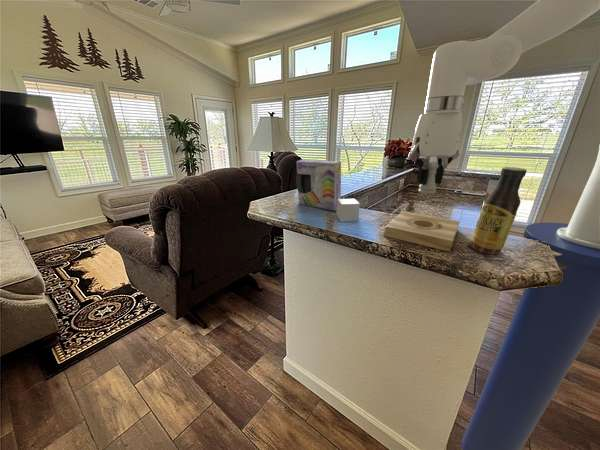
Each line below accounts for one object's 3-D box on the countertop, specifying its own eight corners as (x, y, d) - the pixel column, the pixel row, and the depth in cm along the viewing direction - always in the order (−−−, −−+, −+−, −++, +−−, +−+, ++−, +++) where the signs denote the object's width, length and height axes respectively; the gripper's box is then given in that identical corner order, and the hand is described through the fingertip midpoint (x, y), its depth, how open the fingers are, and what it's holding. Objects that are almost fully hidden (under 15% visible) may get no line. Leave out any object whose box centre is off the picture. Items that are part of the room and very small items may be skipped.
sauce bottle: (463, 246, 60) (485, 166, 52) (481, 242, 61) (504, 165, 54) (490, 258, 54) (519, 171, 46) (509, 253, 56) (539, 169, 48)
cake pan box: (295, 203, 98) (294, 159, 91) (303, 200, 101) (303, 158, 95) (333, 212, 86) (335, 163, 79) (341, 209, 89) (343, 161, 83)
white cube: (340, 221, 77) (341, 204, 75) (336, 215, 83) (337, 199, 81) (358, 220, 78) (359, 203, 76) (353, 214, 83) (354, 198, 81)
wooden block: (400, 219, 78) (402, 210, 77) (457, 230, 69) (459, 220, 68) (384, 236, 66) (385, 226, 65) (449, 251, 57) (452, 240, 56)
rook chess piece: (414, 192, 64) (419, 162, 61) (422, 189, 67) (428, 160, 64) (431, 195, 61) (437, 163, 58) (439, 192, 63) (445, 162, 60)
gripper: (462, 107, 60) (447, 179, 67) (401, 108, 58) (392, 182, 65) (487, 104, 53) (467, 184, 60) (419, 105, 51) (407, 188, 58)
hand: (428, 182), depth 63 cm, fingers closed on rook chess piece, 3 cm apart
